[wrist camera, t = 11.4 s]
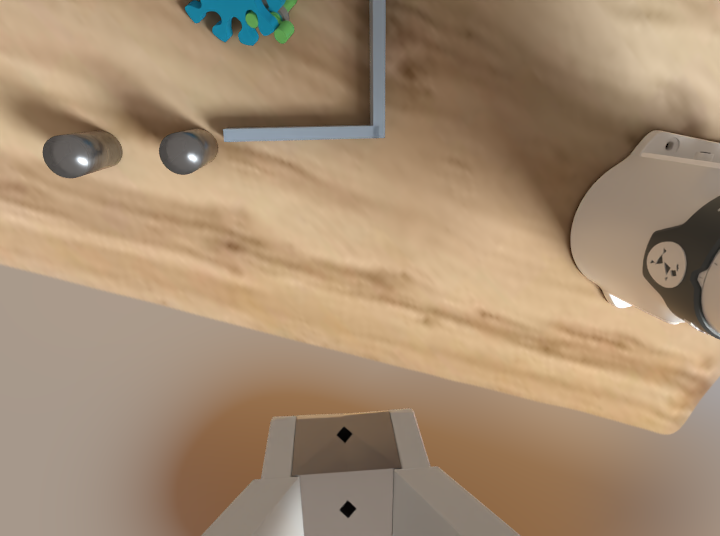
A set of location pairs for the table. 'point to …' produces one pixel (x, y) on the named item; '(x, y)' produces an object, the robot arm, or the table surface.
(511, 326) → the table surface
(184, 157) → the spacer posts
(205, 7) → the gear
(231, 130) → the u-shaped bent rod
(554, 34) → the table surface
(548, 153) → the table surface
